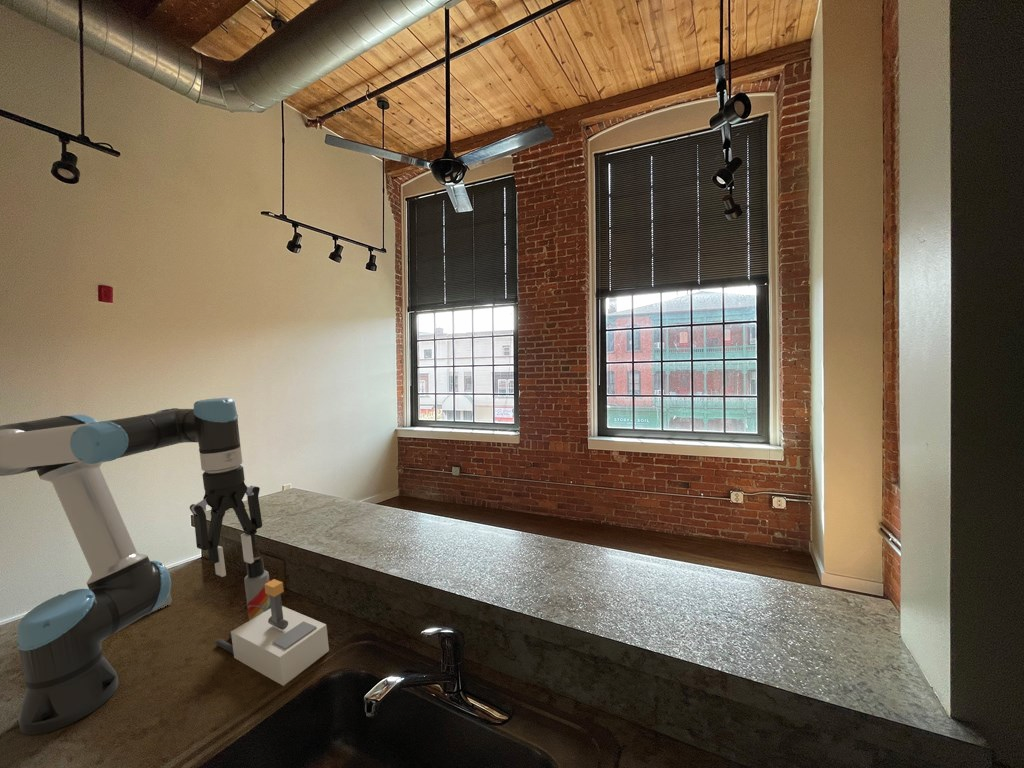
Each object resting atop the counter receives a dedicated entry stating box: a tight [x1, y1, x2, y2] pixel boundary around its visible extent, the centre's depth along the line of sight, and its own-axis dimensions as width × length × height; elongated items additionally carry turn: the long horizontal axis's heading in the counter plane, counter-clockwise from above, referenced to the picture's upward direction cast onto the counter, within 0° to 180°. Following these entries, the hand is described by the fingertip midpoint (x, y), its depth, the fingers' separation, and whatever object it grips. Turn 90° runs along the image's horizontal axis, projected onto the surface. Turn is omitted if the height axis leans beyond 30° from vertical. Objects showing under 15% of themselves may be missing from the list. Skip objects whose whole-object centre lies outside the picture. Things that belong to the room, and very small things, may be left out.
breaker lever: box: [264, 578, 288, 630], centre depth 104 cm, size 5×2×11 cm, turn 61°
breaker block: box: [230, 605, 330, 687], centre depth 105 cm, size 20×12×7 cm, turn 61°
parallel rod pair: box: [215, 631, 234, 655], centre depth 109 cm, size 9×4×1 cm, turn 61°
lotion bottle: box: [243, 555, 271, 621], centre depth 115 cm, size 6×6×20 cm
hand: (235, 567), depth 96 cm, fingers open, 5 cm apart
